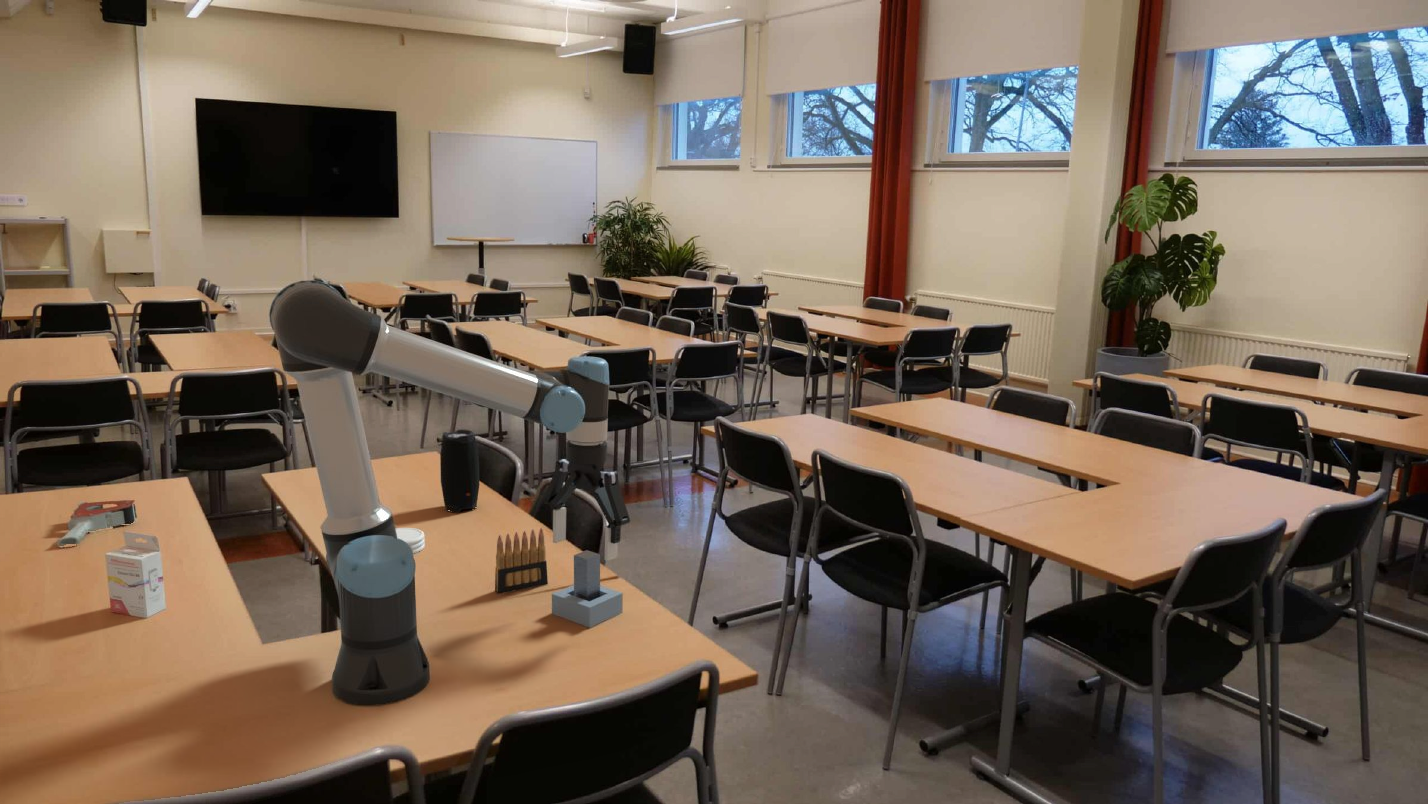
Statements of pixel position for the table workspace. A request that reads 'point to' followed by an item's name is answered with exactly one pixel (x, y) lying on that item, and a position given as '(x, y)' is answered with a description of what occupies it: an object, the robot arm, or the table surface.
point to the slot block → (587, 606)
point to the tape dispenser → (97, 519)
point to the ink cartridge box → (136, 577)
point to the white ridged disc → (412, 538)
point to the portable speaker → (459, 470)
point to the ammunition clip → (520, 563)
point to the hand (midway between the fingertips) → (584, 549)
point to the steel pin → (587, 575)
